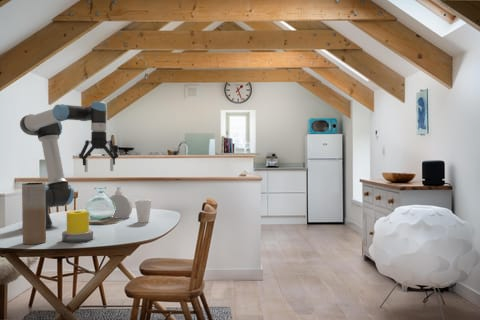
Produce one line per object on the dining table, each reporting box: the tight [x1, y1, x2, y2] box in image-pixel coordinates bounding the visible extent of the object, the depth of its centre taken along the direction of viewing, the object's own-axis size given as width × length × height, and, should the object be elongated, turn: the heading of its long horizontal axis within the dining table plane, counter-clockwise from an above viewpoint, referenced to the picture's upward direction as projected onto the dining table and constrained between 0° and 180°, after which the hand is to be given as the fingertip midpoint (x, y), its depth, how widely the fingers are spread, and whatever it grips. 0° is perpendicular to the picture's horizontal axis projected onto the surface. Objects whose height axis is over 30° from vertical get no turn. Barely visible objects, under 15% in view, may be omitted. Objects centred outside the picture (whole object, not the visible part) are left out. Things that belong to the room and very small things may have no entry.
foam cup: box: [134, 198, 152, 224], centre depth 271 cm, size 10×9×13 cm
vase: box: [21, 182, 47, 246], centre depth 212 cm, size 10×10×28 cm
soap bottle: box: [109, 185, 133, 219], centre depth 288 cm, size 16×5×20 cm, turn 89°
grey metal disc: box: [61, 229, 94, 244], centre depth 218 cm, size 14×14×4 cm
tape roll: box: [66, 210, 90, 234], centre depth 218 cm, size 10×10×9 cm
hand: (99, 171), depth 240 cm, fingers open, 13 cm apart
